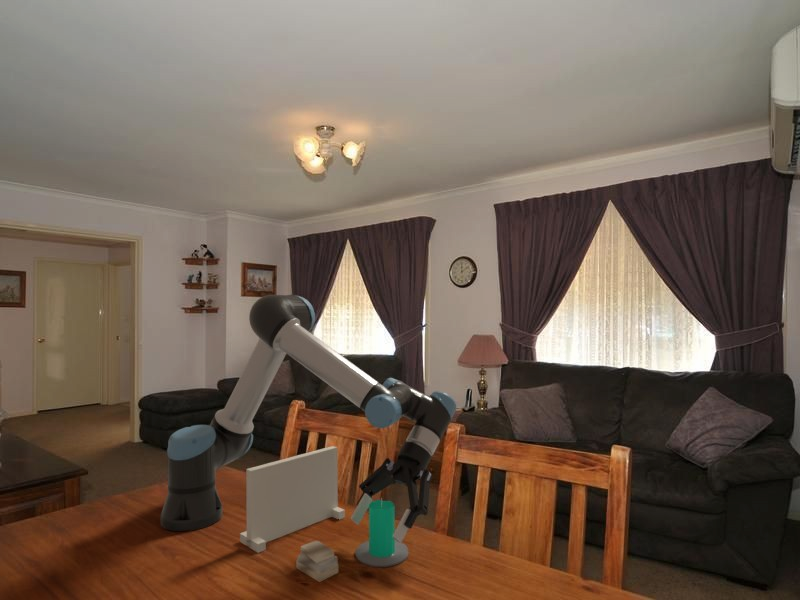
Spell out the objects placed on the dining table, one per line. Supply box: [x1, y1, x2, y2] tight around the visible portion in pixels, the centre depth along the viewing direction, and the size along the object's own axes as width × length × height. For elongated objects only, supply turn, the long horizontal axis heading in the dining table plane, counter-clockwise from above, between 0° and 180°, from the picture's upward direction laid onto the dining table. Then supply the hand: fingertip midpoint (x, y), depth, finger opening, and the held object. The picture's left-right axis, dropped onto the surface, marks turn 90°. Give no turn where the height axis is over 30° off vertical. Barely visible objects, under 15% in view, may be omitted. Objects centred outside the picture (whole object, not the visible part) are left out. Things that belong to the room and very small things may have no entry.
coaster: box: [355, 540, 409, 568], centre depth 116 cm, size 12×12×1 cm
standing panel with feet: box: [239, 445, 346, 554], centre depth 129 cm, size 8×26×18 cm, turn 137°
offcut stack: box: [295, 540, 339, 583], centre depth 109 cm, size 8×5×4 cm, turn 47°
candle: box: [368, 497, 396, 557], centre depth 116 cm, size 6×6×12 cm
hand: (374, 530), depth 114 cm, fingers open, 13 cm apart
